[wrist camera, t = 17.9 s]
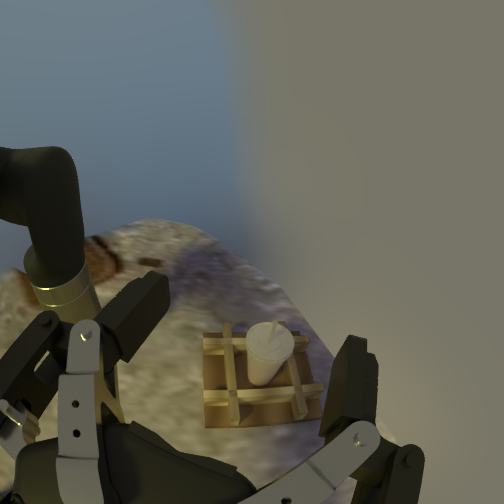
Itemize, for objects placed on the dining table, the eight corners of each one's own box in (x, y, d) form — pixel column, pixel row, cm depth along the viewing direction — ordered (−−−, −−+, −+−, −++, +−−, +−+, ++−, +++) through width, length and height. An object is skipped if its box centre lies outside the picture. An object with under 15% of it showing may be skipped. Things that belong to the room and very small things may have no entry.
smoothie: (232, 384, 37) (241, 327, 29) (247, 353, 42) (260, 292, 34) (272, 399, 36) (296, 346, 28) (285, 367, 41) (308, 308, 33)
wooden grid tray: (205, 428, 32) (204, 419, 29) (203, 336, 45) (203, 321, 43) (320, 418, 34) (330, 408, 32) (297, 334, 48) (303, 320, 46)
